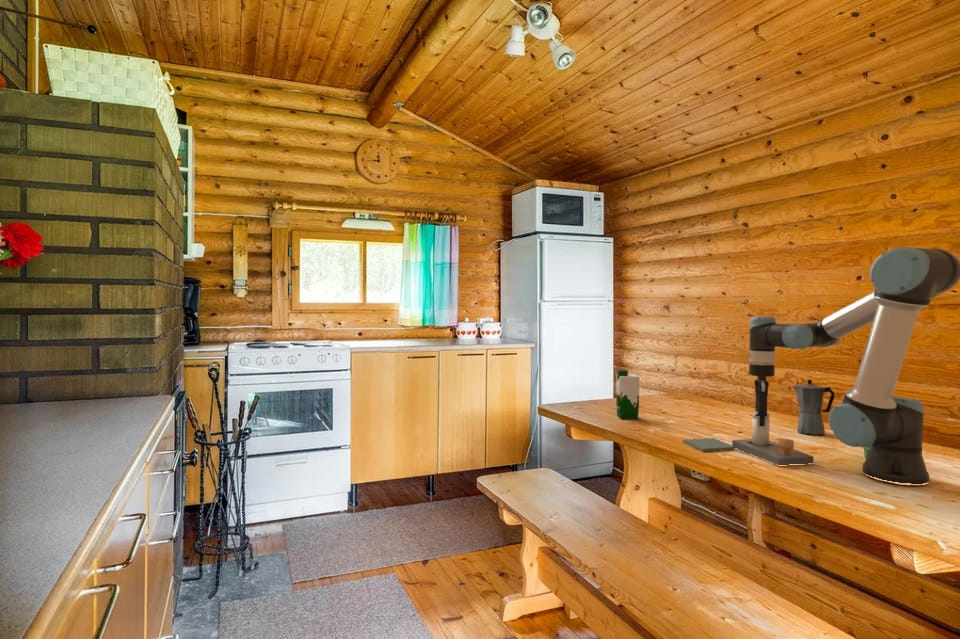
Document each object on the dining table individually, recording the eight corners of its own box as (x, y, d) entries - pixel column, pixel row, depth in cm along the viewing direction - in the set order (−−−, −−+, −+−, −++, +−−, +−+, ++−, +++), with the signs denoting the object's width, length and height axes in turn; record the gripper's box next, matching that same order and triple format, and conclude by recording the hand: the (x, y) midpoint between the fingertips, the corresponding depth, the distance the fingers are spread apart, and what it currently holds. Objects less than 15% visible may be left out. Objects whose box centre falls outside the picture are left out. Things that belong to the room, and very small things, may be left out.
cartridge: (768, 445, 185) (768, 412, 184) (769, 449, 180) (770, 415, 180) (751, 443, 186) (752, 411, 186) (752, 447, 182) (753, 414, 181)
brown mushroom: (797, 461, 171) (797, 442, 170) (782, 462, 170) (783, 442, 169) (785, 456, 176) (785, 438, 175) (771, 457, 175) (771, 438, 174)
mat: (735, 449, 185) (735, 446, 185) (702, 451, 183) (702, 448, 183) (713, 440, 197) (713, 437, 197) (682, 442, 195) (682, 439, 195)
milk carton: (614, 415, 239) (614, 369, 238) (635, 415, 239) (636, 369, 238) (619, 419, 230) (619, 371, 229) (641, 419, 230) (641, 371, 229)
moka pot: (797, 427, 217) (799, 376, 216) (840, 435, 204) (842, 381, 203) (784, 430, 212) (785, 378, 211) (828, 439, 199) (829, 383, 198)
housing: (813, 464, 169) (813, 456, 169) (778, 466, 167) (778, 458, 167) (763, 445, 190) (763, 438, 190) (732, 447, 188) (732, 440, 188)
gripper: (747, 360, 192) (746, 427, 193) (751, 366, 175) (749, 439, 176) (771, 361, 189) (770, 428, 190) (777, 367, 172) (776, 441, 173)
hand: (760, 433), depth 183 cm, fingers closed on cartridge, 5 cm apart
